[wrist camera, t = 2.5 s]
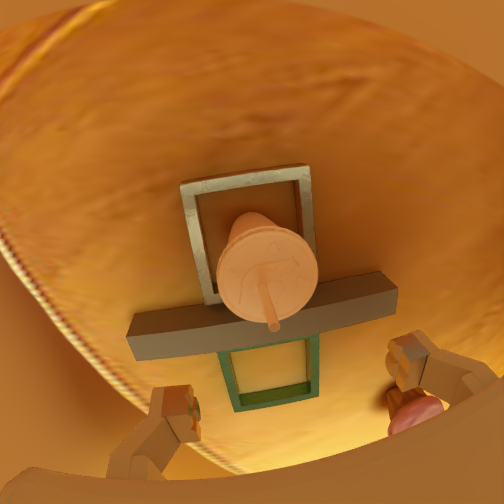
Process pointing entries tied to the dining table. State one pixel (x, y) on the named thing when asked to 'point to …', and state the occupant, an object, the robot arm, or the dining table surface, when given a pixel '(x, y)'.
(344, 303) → the door edge
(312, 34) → the dining table surface
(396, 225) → the dining table surface
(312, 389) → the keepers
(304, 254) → the smoothie
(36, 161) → the dining table surface
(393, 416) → the cupcake
